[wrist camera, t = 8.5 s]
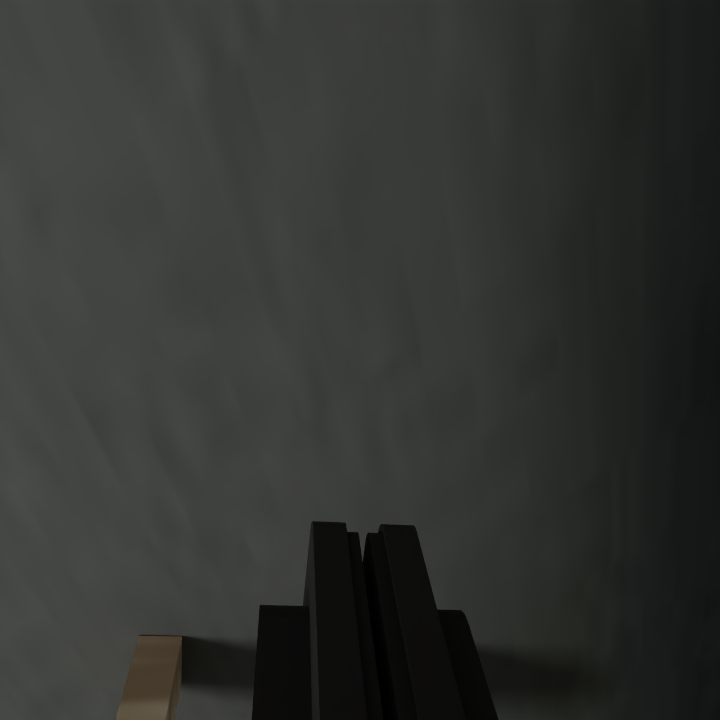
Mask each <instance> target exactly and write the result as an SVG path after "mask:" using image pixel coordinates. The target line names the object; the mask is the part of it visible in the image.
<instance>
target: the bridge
mask: <svg viewBox="0 0 720 720" xmlns="http://www.w3.org/2000/svg"><path fill="white" fill-rule="evenodd" d="M181 677H182V636H139V637H138V641H137V645H136V648H135V652H134V655H133V659H132V662H131V666H130V670H129V673H128V677H127V680H126V684H125V688H124V691H123V695H122V698H121V702H120V705H119V709H118V713H117V716H116V720H175V715H176V709H177V704H178V699H179V693H180V688H181Z"/></svg>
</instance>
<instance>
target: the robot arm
mask: <svg viewBox="0 0 720 720" xmlns="http://www.w3.org/2000/svg"><path fill="white" fill-rule="evenodd" d="M252 720H498V717H497V714H496V711H495V708H494V704H493V701H492V698H491V695H490V692H489V688H488V685H487V682H486V679H485V676H484V672H483V669H482V666H481V663H480V659H479V656H478V653H477V650H476V647H475V643H474V640H473V637H472V634H471V631H470V627H469V624H468V621H467V619H466V616H465V614H464V613H463V612H462V611H461V610H437V608H436V604H435V600H434V596H433V592H432V588H431V585H430V581H429V577H428V573H427V569H426V565H425V562H424V558H423V554H422V550H421V546H420V542H419V539H418V535H417V531H416V528H415V526H413V525H388V524H381V525H380V527H379V531H378V533H368V534H367V536H366V542H365V550H364V557H363V563H362V555H361V548H360V540H359V534H358V532H347V528H346V524H345V523H340V522H315V521H312V523H311V530H310V540H309V550H308V560H307V570H306V580H305V590H304V600H303V606H277V605H260V610H259V624H258V638H257V653H256V667H255V681H254V695H253V710H252Z"/></svg>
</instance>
